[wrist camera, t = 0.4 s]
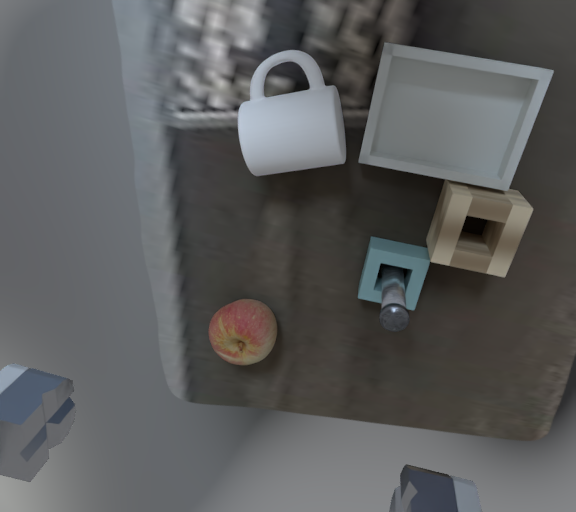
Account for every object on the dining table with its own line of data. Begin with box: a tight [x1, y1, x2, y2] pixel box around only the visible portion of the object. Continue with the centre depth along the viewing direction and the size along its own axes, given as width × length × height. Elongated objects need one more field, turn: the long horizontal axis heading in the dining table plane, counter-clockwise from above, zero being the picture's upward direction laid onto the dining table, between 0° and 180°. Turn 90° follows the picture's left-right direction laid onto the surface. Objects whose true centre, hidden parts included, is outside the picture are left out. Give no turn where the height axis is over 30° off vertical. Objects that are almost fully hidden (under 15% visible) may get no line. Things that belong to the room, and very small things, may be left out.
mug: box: [238, 50, 346, 176], centre depth 48 cm, size 12×10×8 cm
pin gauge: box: [379, 263, 409, 332], centre depth 53 cm, size 3×3×12 cm
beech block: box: [426, 179, 533, 277], centre depth 51 cm, size 8×8×6 cm
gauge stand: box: [358, 236, 430, 310], centre depth 57 cm, size 7×7×4 cm
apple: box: [209, 299, 277, 365], centre depth 62 cm, size 9×9×8 cm
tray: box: [358, 42, 554, 191], centre depth 48 cm, size 12×16×3 cm
